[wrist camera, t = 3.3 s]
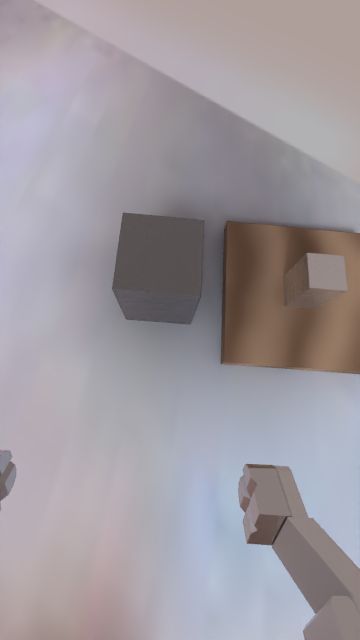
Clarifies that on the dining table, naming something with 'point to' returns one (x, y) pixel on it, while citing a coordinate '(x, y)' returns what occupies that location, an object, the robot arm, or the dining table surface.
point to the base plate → (269, 304)
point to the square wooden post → (315, 281)
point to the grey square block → (159, 268)
